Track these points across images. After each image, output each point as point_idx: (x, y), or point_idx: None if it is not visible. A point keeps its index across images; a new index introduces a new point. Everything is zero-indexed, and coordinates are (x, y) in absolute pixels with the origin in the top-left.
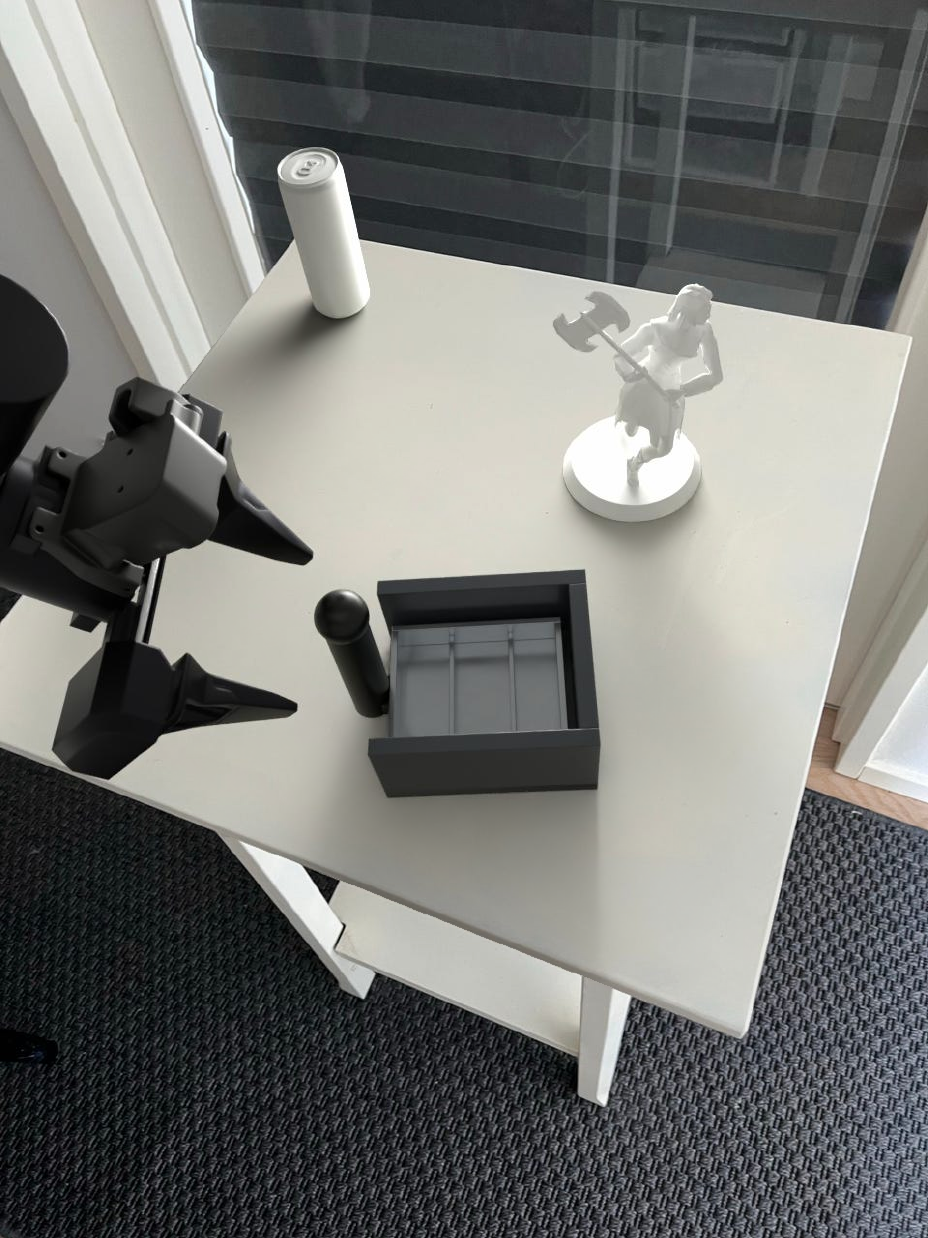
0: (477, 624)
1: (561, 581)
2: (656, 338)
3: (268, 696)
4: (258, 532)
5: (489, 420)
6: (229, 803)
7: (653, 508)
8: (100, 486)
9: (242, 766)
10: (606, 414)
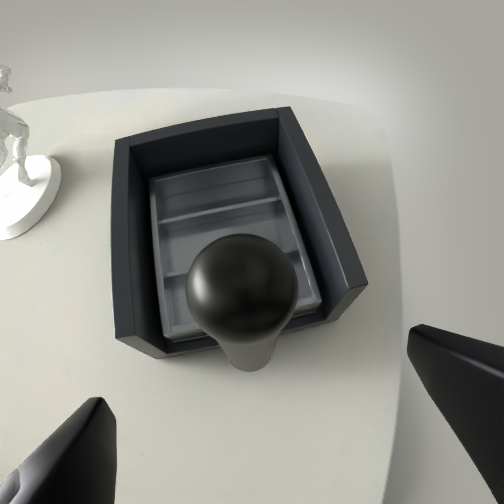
0: (156, 243)
1: (126, 151)
2: None
3: (459, 344)
4: (72, 494)
5: None
6: (374, 462)
7: (54, 170)
8: None
9: (335, 468)
10: None
